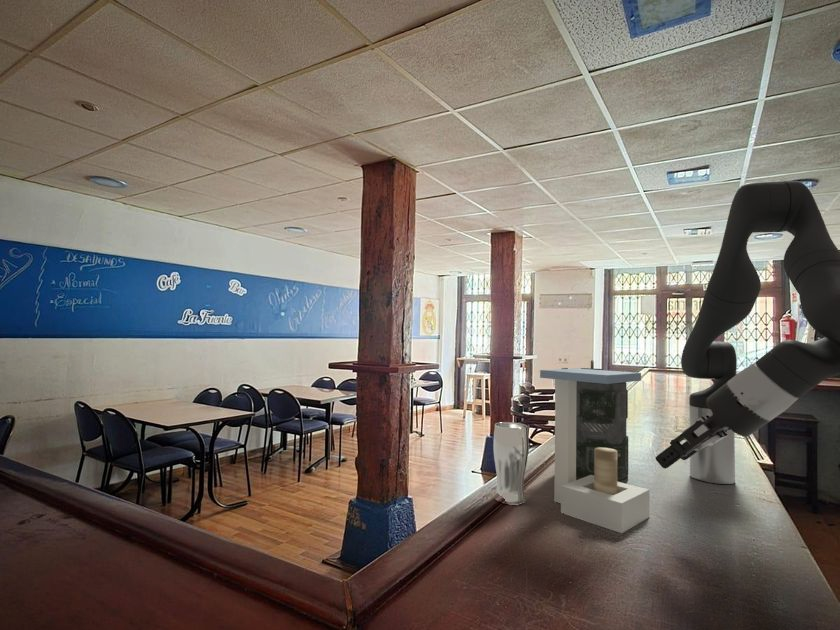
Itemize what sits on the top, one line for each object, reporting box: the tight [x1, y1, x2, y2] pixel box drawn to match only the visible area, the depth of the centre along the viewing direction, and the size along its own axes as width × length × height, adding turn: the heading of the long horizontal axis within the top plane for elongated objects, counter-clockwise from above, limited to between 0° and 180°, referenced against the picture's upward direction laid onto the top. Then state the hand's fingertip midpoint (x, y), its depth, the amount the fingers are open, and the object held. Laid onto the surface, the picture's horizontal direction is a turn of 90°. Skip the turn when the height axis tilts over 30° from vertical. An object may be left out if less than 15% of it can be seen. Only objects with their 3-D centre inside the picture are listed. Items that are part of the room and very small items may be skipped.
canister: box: [561, 359, 629, 484], centre depth 107 cm, size 16×16×28 cm
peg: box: [594, 447, 617, 495], centre depth 85 cm, size 4×4×12 cm
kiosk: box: [539, 368, 651, 534], centre depth 87 cm, size 14×16×26 cm
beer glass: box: [492, 421, 529, 504], centre depth 92 cm, size 7×7×15 cm
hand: (670, 459), depth 77 cm, fingers open, 8 cm apart
